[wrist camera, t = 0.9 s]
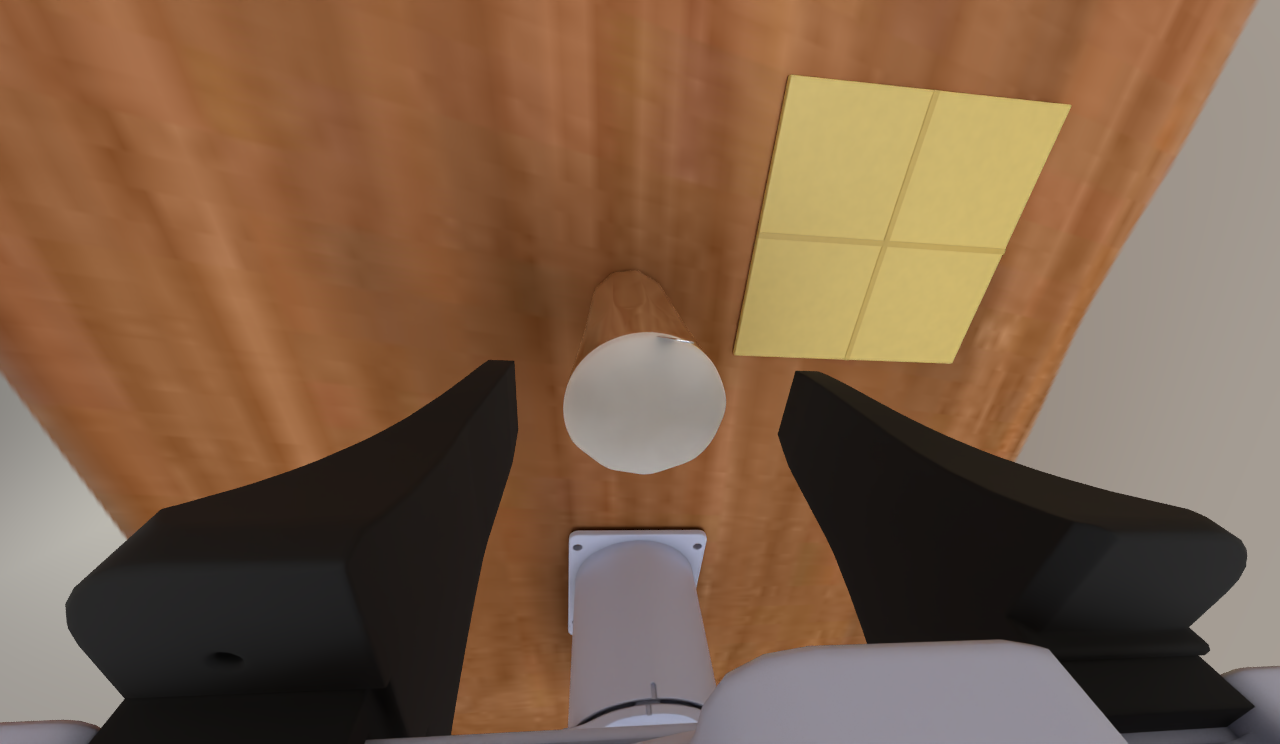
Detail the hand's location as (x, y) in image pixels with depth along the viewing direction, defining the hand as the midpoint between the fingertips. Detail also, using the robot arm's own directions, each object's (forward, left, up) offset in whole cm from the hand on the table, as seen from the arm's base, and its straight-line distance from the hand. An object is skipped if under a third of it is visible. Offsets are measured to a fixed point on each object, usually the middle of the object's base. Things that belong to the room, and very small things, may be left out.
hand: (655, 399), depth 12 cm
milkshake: (0, 0, -9) cm, 9 cm away
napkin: (+3, -10, -9) cm, 14 cm away
